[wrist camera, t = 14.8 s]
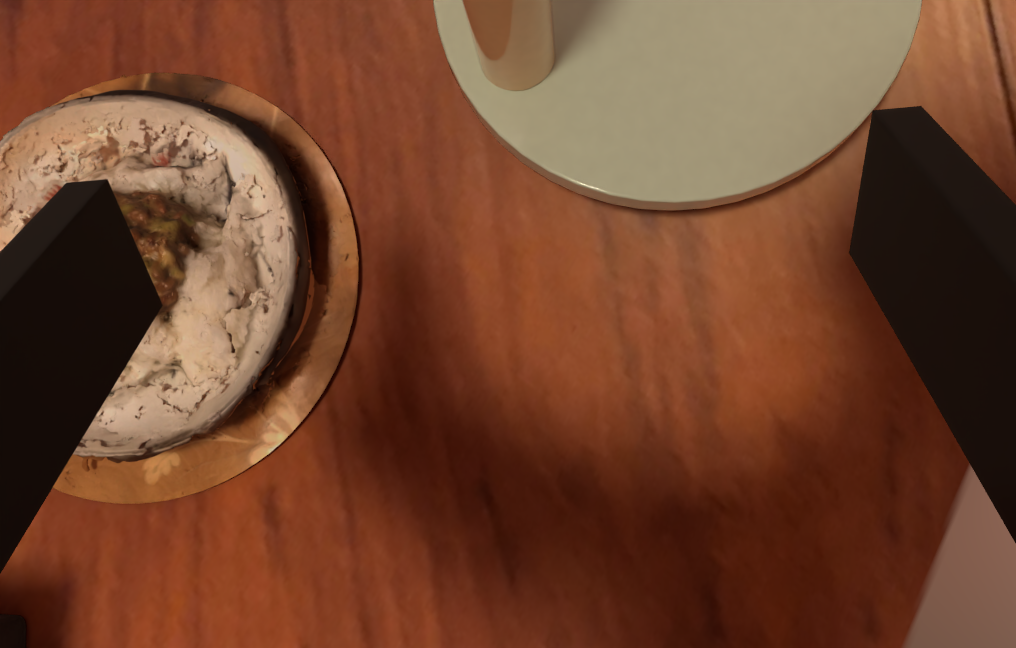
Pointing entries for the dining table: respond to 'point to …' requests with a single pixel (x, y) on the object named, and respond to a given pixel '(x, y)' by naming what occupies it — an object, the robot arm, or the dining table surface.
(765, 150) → the turntable plate
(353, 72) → the dining table surface
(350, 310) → the cake on gold board
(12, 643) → the camera
